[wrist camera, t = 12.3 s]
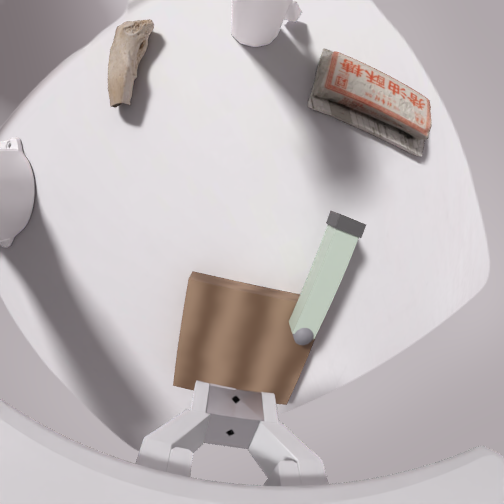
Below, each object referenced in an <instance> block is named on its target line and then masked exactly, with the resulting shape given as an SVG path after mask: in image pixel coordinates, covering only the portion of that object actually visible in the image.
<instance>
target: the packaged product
mask: <svg viewBox="0 0 504 504" xmlns="http://www.w3.org/2000/svg"><path fill="white" fill-rule="evenodd" d="M308 108H310V109H313V110H316V111H319V112H321V113H324V114H327V115H330V116H332V117H334V118H336V119H339V120H341V121H343V122H345V123H347V124H349V125H352V126H354V127H356V128H359V129H361V130H363V131H365V132H367V133H369V134H371V135H373V136H376V137H378V138H380V139H382V140H384V141H386V142H388V143H390V144H392V145H395V146H397V147H399V148H401V149H403V150H405V151H407V152H409V153H411V154H413V155H416V156H420V157H422V153H423V148H424V141H425V139H428V136H429V132H430V129H431V126H432V125H431V123H432V122H431V113H430V108H431V106H430V102H429V100H428V99H427V98H426V97H424V96H423V95H422V94H420V93H418V92H417V91H415V90H413V89H412V88H410V87H409V86H407V85H405V84H403V83H401V82H399V81H398V80H396V79H394V78H392V77H390V76H388V75H387V74H385V73H383V72H381V71H379V70H377V69H375V68H373V67H371V66H368V65H366V64H364V63H362V62H360V61H358V60H355V59H353V58H351V57H348V56H346V55H344V54H342V53H339V52H332V51H330V50H327V49H323V51H322V55H321V58H320V61H319V64H318V67H317V72H316V77H315V81H314V85H313V88H312V91H311V95H310V98H309V101H308Z"/></svg>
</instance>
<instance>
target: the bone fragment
mask: <svg viewBox="0 0 504 504" xmlns="http://www.w3.org/2000/svg"><path fill="white" fill-rule="evenodd" d="M153 28H154V24H153V22H152V20H150V19H149V20H141V21H139V20H138V21H133V22H132V21H127V22H124V23H123V24H122V25H120V26H118V27H117V29H116V32H115V37H114V41H113V44H112V47H111V49H110V56H109V64H108V91H109V99H110V106H111V107H117V106H119V105H120V104H122V103H125V104H128V105H131V104H130V99H131V97H132V90H133V84H134V80H135V79H136V78H137V68H138V64H139V62H140V60H141V58H142V57H143V55H144V54H145V52H146V49H147V46H148V38H149V35H150V34H151V32H152V31H153Z"/></svg>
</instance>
